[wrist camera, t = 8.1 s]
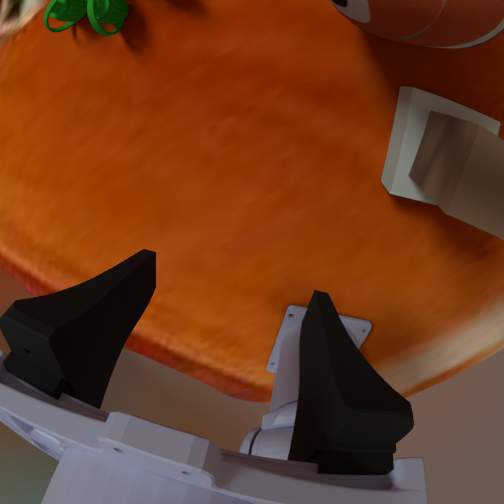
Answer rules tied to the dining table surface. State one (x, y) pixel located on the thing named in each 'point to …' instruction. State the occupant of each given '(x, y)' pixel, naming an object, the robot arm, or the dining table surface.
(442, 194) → the walnut block
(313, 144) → the dining table surface
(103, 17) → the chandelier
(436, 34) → the toy
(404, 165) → the sage slab
